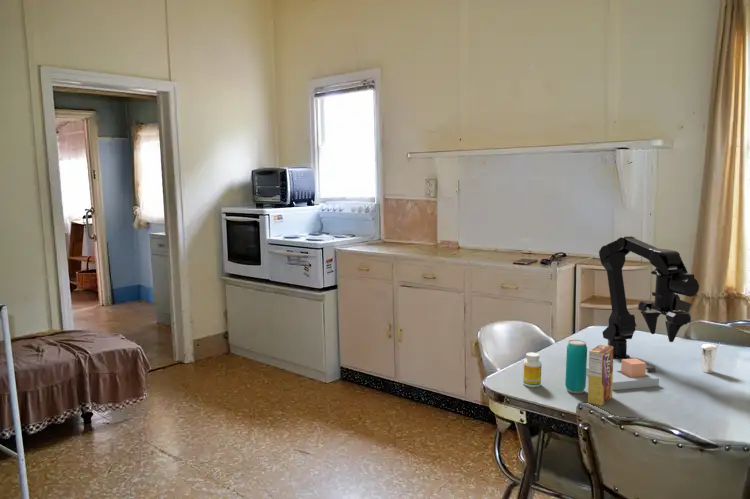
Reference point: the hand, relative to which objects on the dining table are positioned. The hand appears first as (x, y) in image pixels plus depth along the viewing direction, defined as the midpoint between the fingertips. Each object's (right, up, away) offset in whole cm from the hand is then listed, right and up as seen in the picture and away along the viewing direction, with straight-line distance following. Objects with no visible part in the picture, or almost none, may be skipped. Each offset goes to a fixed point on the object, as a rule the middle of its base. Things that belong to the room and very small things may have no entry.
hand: (661, 337), depth 195 cm
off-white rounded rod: (-6, -12, 0) cm, 13 cm away
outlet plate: (-15, -12, -4) cm, 20 cm away
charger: (-12, -12, -6) cm, 18 cm away
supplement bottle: (-44, -13, -8) cm, 47 cm away
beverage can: (-32, -14, -14) cm, 38 cm away
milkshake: (+17, -12, +3) cm, 21 cm away
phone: (-5, -11, +8) cm, 14 cm away
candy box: (-28, -15, -21) cm, 38 cm away
